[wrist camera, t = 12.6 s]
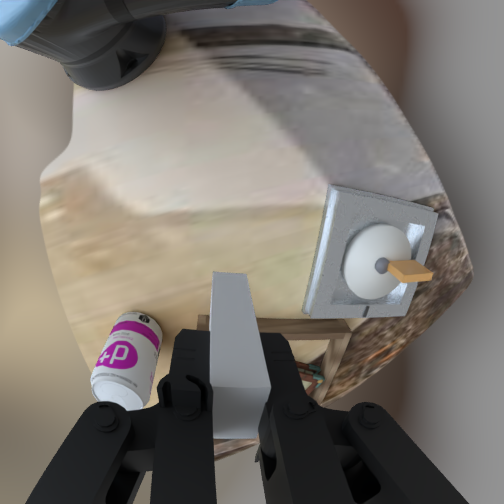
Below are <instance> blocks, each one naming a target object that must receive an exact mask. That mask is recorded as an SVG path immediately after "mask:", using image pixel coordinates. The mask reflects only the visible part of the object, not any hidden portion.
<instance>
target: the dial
mask: <svg viewBox="0 0 504 504" xmlns="http://www.w3.org/2000/svg"><path fill="white" fill-rule="evenodd" d="M342 273H343V277H344V280H345V282H346V284H347V285H348V287H349V288H350V289H351V290H352V291H353V292H354V293H355V294H356V295H357V296H359V297H361V298H364V299H377V298H380V297H383V296H385V295H387V294H389V293H390V292H391V291H393V290H394V289H395V288H396V287H397V286H398V285H399V284H400V283H401V282H402V283H409V282H419V281H428V280H431V279H432V275H433V272H431V271H430V270H428V269H427V268H426V267H424V266H423V265H421V264H420V263H418V262H417V261H416V260H411V246H410V243H409V240H408V238H407V236H406V235H405V234H404V233H403V232H402V231H401V230H399V229H398V228H396V227H394V226H392V225H389V224H385V223H378V224H373V225H370V226H368V227H366V228H365V229H363V230H362V231H360V232H359V233H358V234H357V235H356V236H355V237H354V238H353V239H352V241H351V242H350V244H349V245H348V247H347V249H346V251H345V254H344V258H343V263H342Z"/></svg>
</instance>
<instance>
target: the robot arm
mask: <svg viewBox="0 0 504 504" xmlns="http://www.w3.org/2000/svg"><path fill="white" fill-rule="evenodd" d="M276 1H278V0H0V39H2V40H4V41H6V43H7V44H8V45H10V46H17V47H20V48H23V49H26V50H28V51H31V52H34V53H37V54H40V55H42V56H45V57H47V58H50V59H53V60H55V61H58V62H60V64H61V65H62V66H63V67H64V70H65V72H66V74H67V76H68V77H69V78H70V79H71V80H72V81H73V82H74V83H75V84H77V85H79V86H81V87H84V88H87V89H90V90H96V91H103V90H110V89H114V88H117V87H120V86H122V85H124V84H126V83H128V82H130V81H132V80H133V79H135V78H136V77H138V76H139V75H140V74H142V73H143V72H144V71H145V70H146V69H147V68H148V67H149V66H150V65H151V64H152V63H153V62H154V60H155V59H156V57H157V56H158V54H159V53H160V51H161V49H162V47H163V44H164V41H165V37H166V23H165V19H164V17H163V15H164V14H170V13H176V12H183V11H190V10H199V9H209V8H225V9H231V8H235V7H236V6H250V5H268V4H272V3H274V2H276ZM157 392H158V398H159V403H157V404H156V405H154V406H152V407H150V408H145V409H139V410H130V411H127V410H126V409H125V408H124V407H122V406H121V405H119V404H118V403H115V402H111V401H99V402H97V403H94V404H92V405H90V406H89V407H88V408H87V409H86V410H85V411H84V412H83V414H82V415H81V417H80V418H79V420H78V421H77V423H76V424H75V426H74V427H73V428H72V430H71V431H70V433H69V435H68V436H67V437H66V439H65V440H64V442H63V444H62V445H61V446H60V448H59V450H58V451H57V453H56V454H55V456H54V457H53V459H52V461H51V462H50V464H49V465H48V467H47V468H46V470H45V471H44V473H43V475H42V476H41V478H40V479H39V481H38V483H37V485H36V486H35V488H34V489H33V491H32V493H31V494H30V496H29V498H28V500H27V501H26V503H25V504H133V501H134V499H135V496H136V494H137V492H138V489H139V487H140V485H141V482H142V480H143V478H144V475H145V473H146V471H153V472H152V483H151V497H150V504H217V499H216V485H215V466H214V444H213V438H222V439H246V438H256V437H257V434H258V433H259V439H260V445H259V448H258V451H257V453H256V456H255V462H258V461H260V468H261V475H262V481H263V486H264V493H265V499H266V504H469V503H468V502H467V501H466V500H465V499H464V498H463V496H462V495H461V494H460V493H459V492H458V491H457V490H456V489H455V488H454V486H453V485H452V484H451V483H450V482H449V481H448V480H447V479H446V477H445V476H444V475H443V474H442V473H441V472H440V471H439V470H438V468H437V467H436V466H435V465H434V464H433V463H432V462H431V461H430V460H429V459H428V458H427V456H426V455H425V454H424V453H423V452H422V451H421V449H420V448H419V447H418V446H417V445H416V444H415V443H414V442H413V440H412V439H411V438H410V437H409V436H408V435H407V434H406V433H405V431H404V430H403V429H402V428H401V427H400V426H399V425H398V424H397V422H396V421H395V420H394V419H393V418H392V417H391V416H390V415H389V414H388V413H387V411H386V410H385V409H383V408H382V407H381V406H379V405H377V404H375V403H370V402H362V403H358V404H356V405H355V406H354V407H352V408H351V410H350V411H349V412H348V411H339V410H332V409H327V408H323V407H321V406H319V405H318V403H317V402H316V401H315V400H314V399H313V398H311V397H310V396H308V395H307V393H306V391H305V388H304V385H303V382H302V379H301V377H300V374H299V371H298V368H297V365H296V362H295V359H294V356H293V354H292V350H291V348H290V345H289V342H288V341H287V340H286V339H285V337H284V336H283V335H282V334H281V333H265V332H259V330H258V326H257V321H256V316H255V312H254V307H253V302H252V298H251V293H250V288H249V284H248V279H247V274H240V273H226V272H213V277H212V291H211V306H210V323H209V331H203V330H190V329H182V330H181V332H180V333H179V334H178V335H177V336H176V337H175V342H174V348H173V353H172V359H171V365H170V371H169V374H167V375H166V376H165V377H163V378H162V379H161V380H160V382H159V384H158V386H157Z"/></svg>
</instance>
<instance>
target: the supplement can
mask: <svg viewBox="0 0 504 504" xmlns="http://www.w3.org/2000/svg"><path fill="white" fill-rule="evenodd" d="M162 336H163V334H162V331H161V328H160V326H159V325H158V324H157V323H156V321H155V320H153V319H152V318H150V317H149V316H148V315H145V314H142V313H140V312H128V313H124V314H122V315H121V316H120V317H119V318H118V319H117V321H116V323H115V325H114V327H113V329H112V331H111V333H110V335H109V337H108V340H107V342H106V344H105V346H104V348H103V350H102V352H101V355H100V357H99V359H98V361H97V364H96V366H95V368H94V370H93V373H92V376H91V384H92V393H93V395H94V397H95V398H96V399H97V401H98V402H99V401H111V402H115V403H118V404H119V405H121V406H122V407H124V408H125V409H126V410H127V411H130V410H139V409H142V408H143V407H144V406H145V405H146V404H147V403H148V401H149V399H150V394H151V389H152V384H153V379H154V375H155V370H156V365H157V361H158V356H159V352H160V348H161V344H162Z"/></svg>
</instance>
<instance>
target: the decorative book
mask: <svg viewBox="0 0 504 504" xmlns="http://www.w3.org/2000/svg"><path fill="white" fill-rule="evenodd" d="M295 362H296V365H297V368H298V371H299V374H300V377H301V379H302V382H303V385H304V388H305V391H306V393H307V395H308V396H309V394H310V393H311V392H312V391H313V390H314V389H315V388H317V387H318V386H319V385H320V384H321V383H322V382H323V381H324V380H325V378H324V376H322V375H318V373H319V372H320V370H321V369H320V367H319V366H315V365H312V364H309V365H307V364H304V363H301V362H297V361H295Z"/></svg>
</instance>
